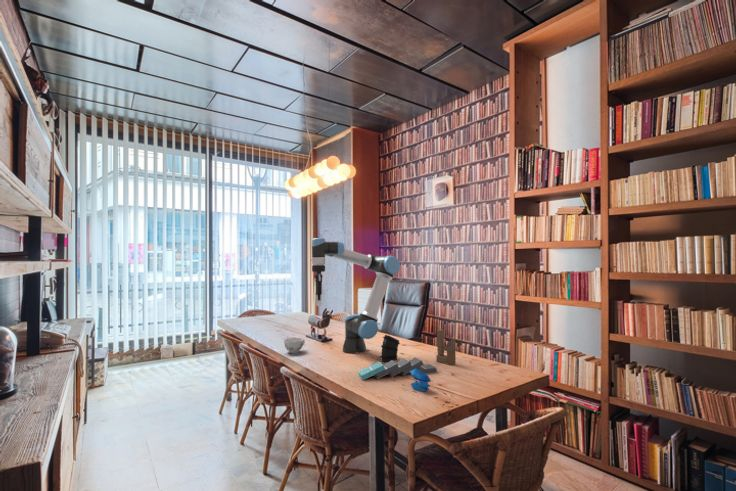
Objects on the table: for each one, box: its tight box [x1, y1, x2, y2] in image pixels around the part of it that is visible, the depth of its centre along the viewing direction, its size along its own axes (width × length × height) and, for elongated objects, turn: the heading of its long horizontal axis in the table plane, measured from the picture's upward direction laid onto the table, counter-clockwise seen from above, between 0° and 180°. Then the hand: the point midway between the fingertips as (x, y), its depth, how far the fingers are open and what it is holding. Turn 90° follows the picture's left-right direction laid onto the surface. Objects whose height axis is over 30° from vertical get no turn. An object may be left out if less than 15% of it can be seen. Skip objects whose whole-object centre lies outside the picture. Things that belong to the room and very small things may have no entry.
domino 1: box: [373, 360, 399, 380], centre depth 185 cm, size 2×7×12 cm
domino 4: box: [417, 363, 438, 375], centre depth 191 cm, size 2×7×12 cm
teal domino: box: [358, 361, 385, 381], centre depth 184 cm, size 2×7×12 cm
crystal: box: [409, 369, 432, 392], centre depth 166 cm, size 7×9×12 cm
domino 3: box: [399, 357, 424, 376], centre depth 190 cm, size 2×7×12 cm
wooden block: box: [435, 329, 457, 366], centre depth 207 cm, size 4×11×18 cm, turn 43°
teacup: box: [283, 337, 306, 354], centre depth 235 cm, size 15×12×8 cm
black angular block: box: [380, 334, 401, 364], centre depth 213 cm, size 4×13×15 cm, turn 135°
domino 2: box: [387, 358, 412, 378], centre depth 188 cm, size 2×7×12 cm
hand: (318, 305), depth 211 cm, fingers closed
